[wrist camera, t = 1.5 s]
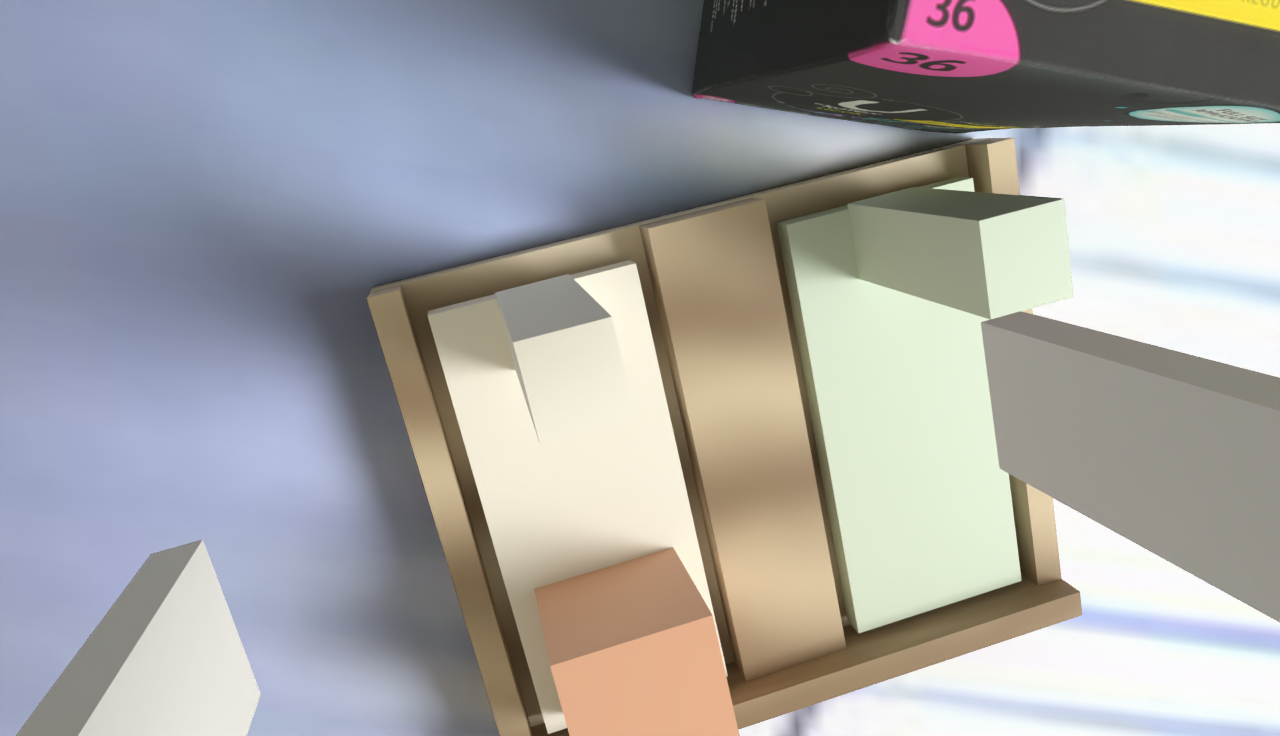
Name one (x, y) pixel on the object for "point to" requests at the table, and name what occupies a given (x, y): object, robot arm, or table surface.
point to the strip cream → (566, 438)
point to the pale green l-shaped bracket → (916, 382)
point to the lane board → (719, 449)
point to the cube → (636, 652)
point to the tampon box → (996, 61)
